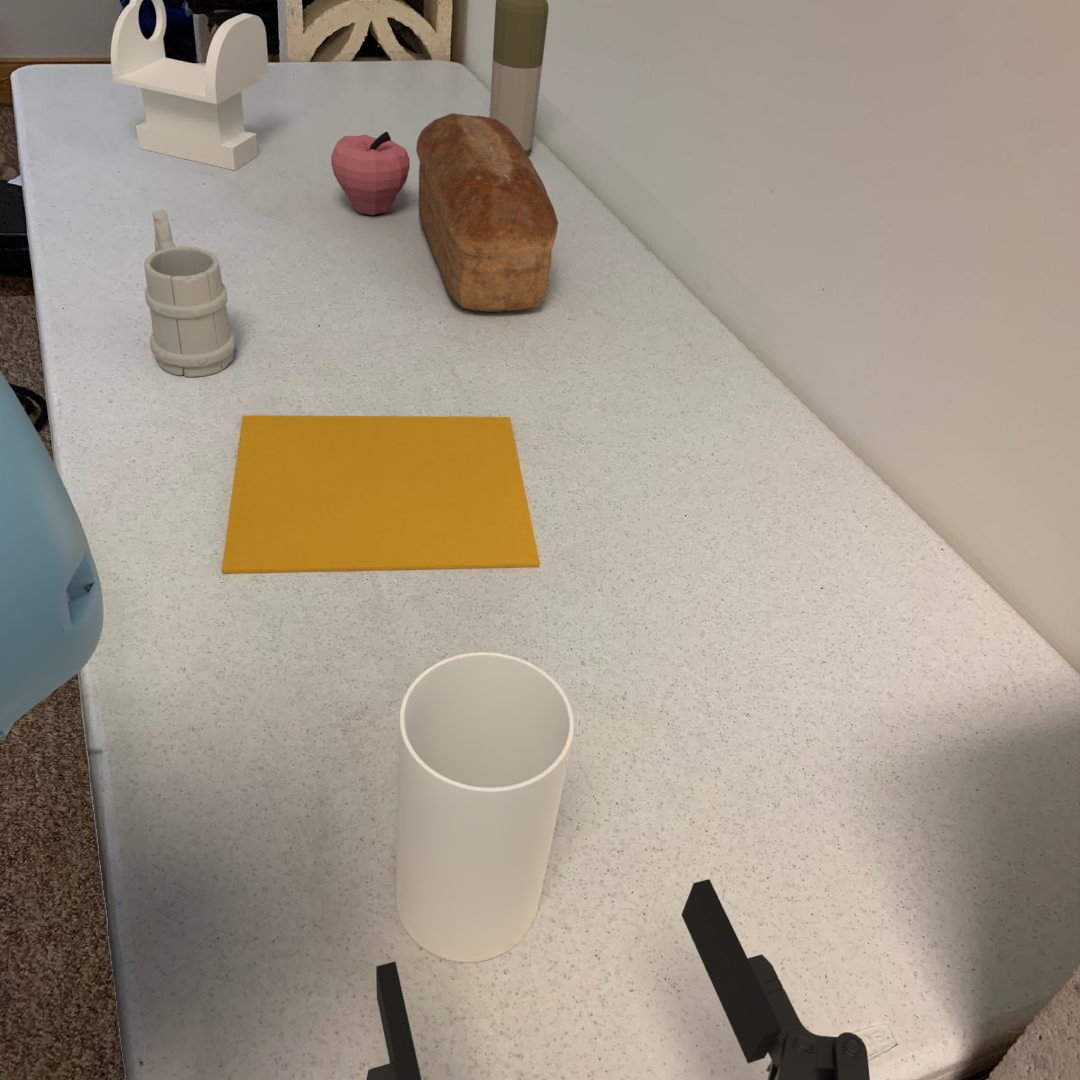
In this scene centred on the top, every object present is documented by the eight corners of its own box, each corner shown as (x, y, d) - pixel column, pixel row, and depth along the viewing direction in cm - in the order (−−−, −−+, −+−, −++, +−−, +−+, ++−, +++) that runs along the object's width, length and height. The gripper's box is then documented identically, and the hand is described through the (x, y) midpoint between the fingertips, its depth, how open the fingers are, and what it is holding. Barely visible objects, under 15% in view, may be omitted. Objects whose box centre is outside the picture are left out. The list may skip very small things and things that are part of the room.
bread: (500, 211, 128) (510, 95, 118) (558, 320, 108) (575, 191, 98) (407, 211, 125) (409, 92, 115) (449, 324, 105) (455, 191, 95)
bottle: (478, 144, 144) (493, -97, 124) (521, 142, 147) (543, -95, 127) (496, 163, 140) (515, -84, 120) (541, 160, 142) (567, -83, 123)
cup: (381, 847, 58) (381, 668, 48) (513, 815, 61) (541, 638, 50) (414, 981, 53) (423, 810, 42) (559, 939, 55) (600, 769, 45)
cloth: (222, 573, 74) (221, 569, 74) (243, 418, 89) (242, 415, 88) (539, 566, 78) (540, 563, 78) (509, 420, 93) (509, 416, 92)
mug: (166, 386, 91) (146, 264, 83) (131, 325, 98) (109, 208, 90) (248, 369, 94) (235, 251, 87) (208, 311, 102) (194, 197, 94)
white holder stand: (126, 154, 129) (100, 1, 117) (181, 125, 138) (162, -20, 126) (224, 177, 126) (208, 24, 115) (274, 145, 136) (263, 0, 124)
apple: (386, 191, 128) (387, 112, 122) (423, 218, 124) (425, 136, 117) (320, 204, 124) (316, 122, 117) (355, 232, 119) (353, 148, 112)
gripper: (333, 1903, 25) (246, 1059, 40) (1095, 1493, 33) (785, 908, 47) (319, 1959, 20) (226, 973, 35) (1221, 1462, 28) (831, 820, 43)
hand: (547, 935), depth 41 cm, fingers open, 13 cm apart
